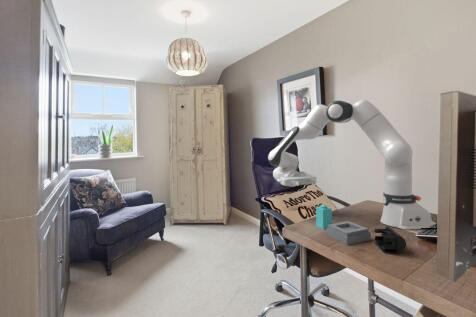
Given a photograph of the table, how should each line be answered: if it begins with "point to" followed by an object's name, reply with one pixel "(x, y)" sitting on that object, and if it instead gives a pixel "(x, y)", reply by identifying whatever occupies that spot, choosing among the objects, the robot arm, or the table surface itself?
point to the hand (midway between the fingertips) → (307, 183)
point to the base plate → (348, 232)
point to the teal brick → (323, 216)
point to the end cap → (389, 241)
